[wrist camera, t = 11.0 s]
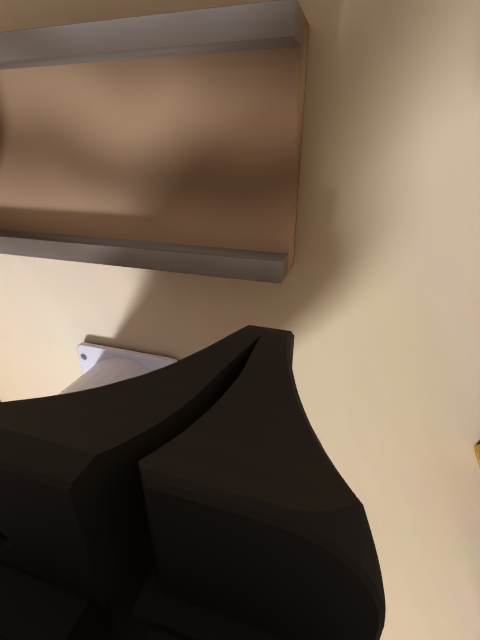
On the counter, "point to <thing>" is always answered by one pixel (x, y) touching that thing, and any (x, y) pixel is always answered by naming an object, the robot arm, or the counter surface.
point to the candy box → (477, 453)
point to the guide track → (156, 140)
